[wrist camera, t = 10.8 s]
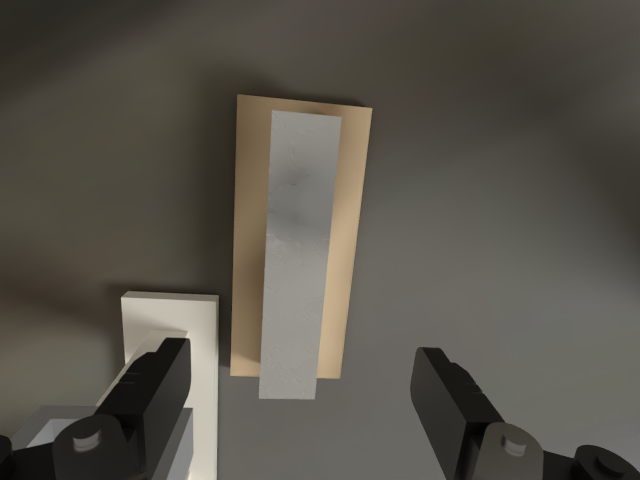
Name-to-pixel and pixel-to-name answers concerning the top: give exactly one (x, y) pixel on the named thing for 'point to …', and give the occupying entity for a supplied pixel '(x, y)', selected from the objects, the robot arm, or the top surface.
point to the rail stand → (146, 336)
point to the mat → (253, 227)
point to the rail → (297, 250)
